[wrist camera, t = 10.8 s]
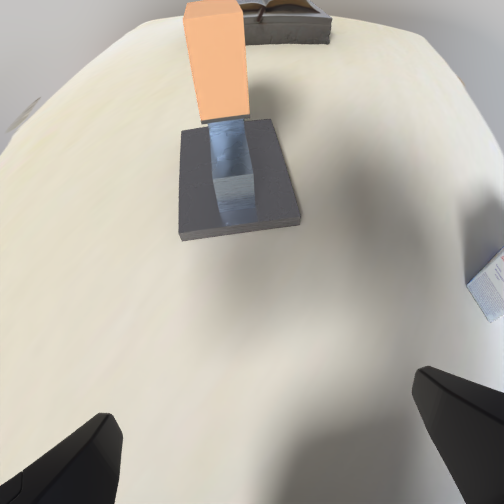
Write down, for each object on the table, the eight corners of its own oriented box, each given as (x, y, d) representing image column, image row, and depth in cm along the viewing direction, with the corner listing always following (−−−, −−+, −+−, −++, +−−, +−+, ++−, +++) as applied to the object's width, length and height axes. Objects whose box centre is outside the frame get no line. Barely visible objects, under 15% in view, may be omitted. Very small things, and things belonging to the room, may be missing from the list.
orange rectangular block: (250, 118, 18) (242, 11, 12) (201, 124, 18) (182, 19, 12) (241, 82, 20) (234, -4, 14) (201, 88, 20) (187, 3, 14)
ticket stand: (299, 225, 26) (314, 96, 15) (181, 241, 26) (134, 121, 15) (270, 127, 33) (269, 27, 22) (183, 139, 33) (160, 41, 22)
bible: (332, 55, 45) (336, 8, 37) (186, 53, 48) (178, 8, 40) (323, 23, 57) (325, -11, 48) (213, 21, 60) (209, -12, 51)
